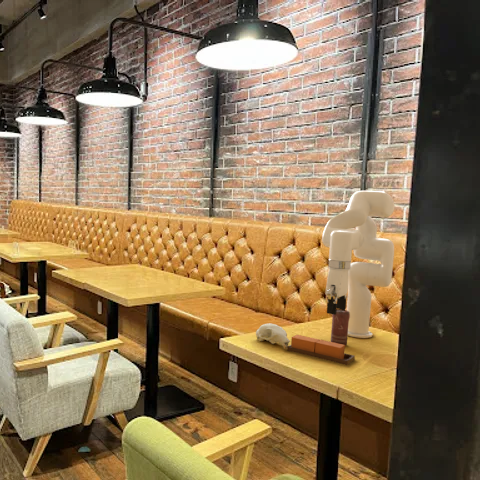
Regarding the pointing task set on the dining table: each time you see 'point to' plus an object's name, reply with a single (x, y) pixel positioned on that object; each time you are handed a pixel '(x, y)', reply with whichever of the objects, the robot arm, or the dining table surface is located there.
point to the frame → (324, 356)
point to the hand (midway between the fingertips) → (336, 311)
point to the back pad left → (304, 343)
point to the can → (340, 326)
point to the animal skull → (272, 334)
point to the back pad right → (330, 349)
